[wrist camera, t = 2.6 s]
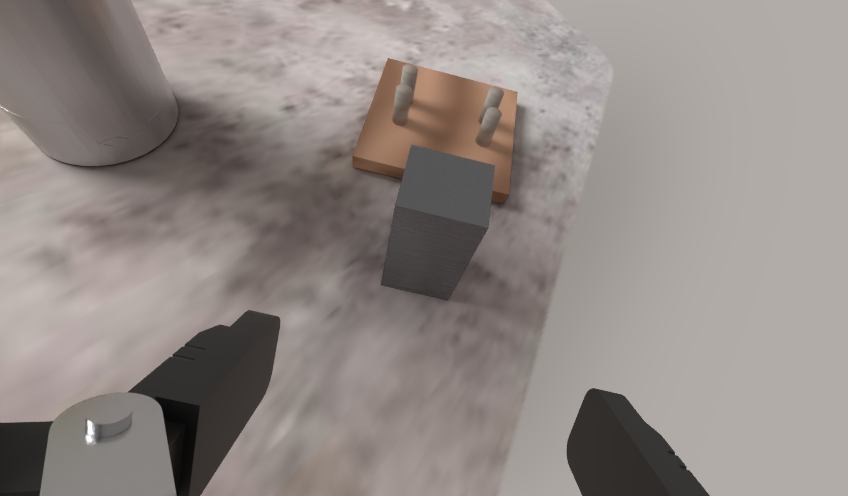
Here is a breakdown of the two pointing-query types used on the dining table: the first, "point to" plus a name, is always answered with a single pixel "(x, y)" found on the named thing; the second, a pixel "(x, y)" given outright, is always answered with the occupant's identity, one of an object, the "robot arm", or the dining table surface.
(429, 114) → the wooden peg holder
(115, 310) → the dining table surface
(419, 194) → the block
